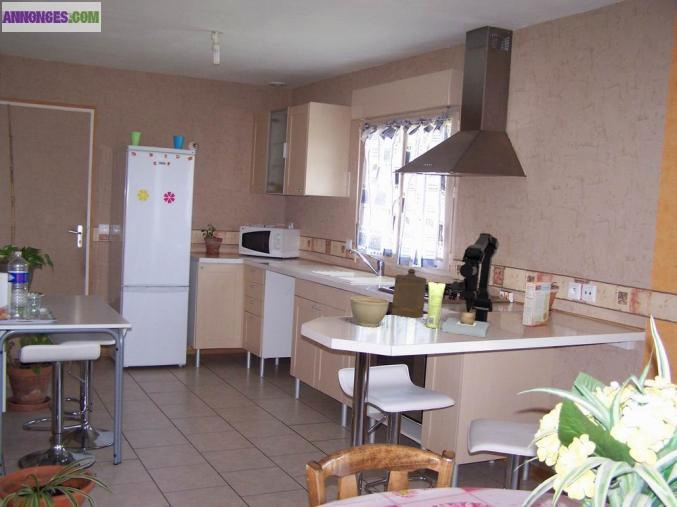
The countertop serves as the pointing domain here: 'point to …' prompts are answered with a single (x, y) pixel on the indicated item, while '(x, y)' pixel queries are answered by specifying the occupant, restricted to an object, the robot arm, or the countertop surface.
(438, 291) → the tube
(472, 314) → the cream rounded piece
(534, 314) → the cracker box
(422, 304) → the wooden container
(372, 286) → the countertop surface
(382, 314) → the planter bowl
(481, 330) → the pale blue flat block
